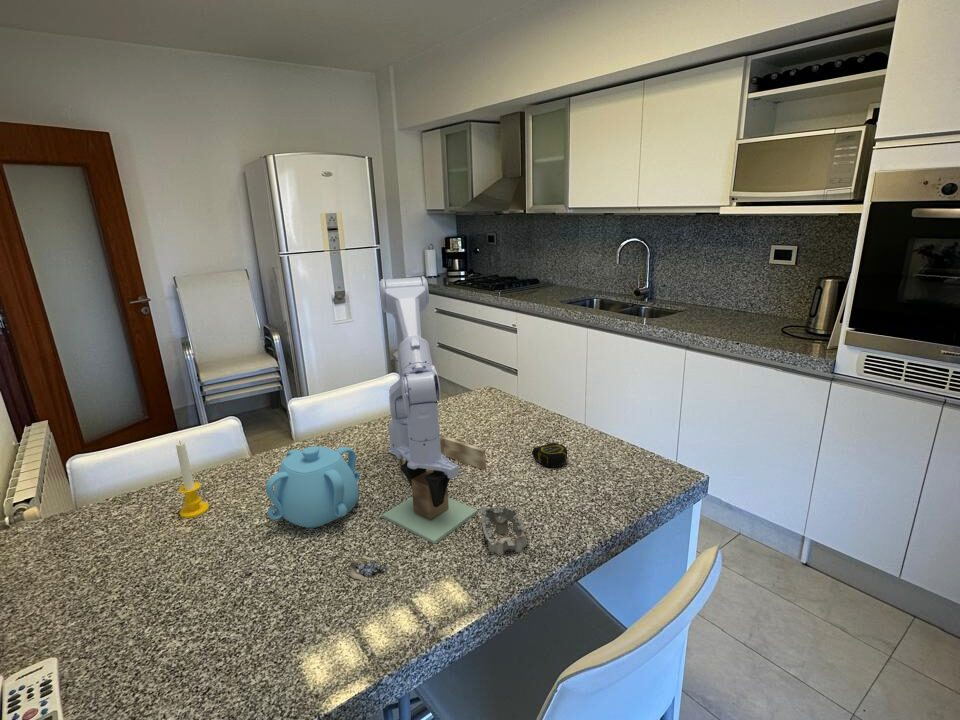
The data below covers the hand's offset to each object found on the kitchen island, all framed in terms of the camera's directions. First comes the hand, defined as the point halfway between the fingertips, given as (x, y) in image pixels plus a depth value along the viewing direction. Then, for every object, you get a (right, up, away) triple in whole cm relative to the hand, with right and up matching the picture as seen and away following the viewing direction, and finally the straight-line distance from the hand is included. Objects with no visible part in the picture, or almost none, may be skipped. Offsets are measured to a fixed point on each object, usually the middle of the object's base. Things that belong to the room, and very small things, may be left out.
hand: (429, 500), depth 97 cm
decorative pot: (-22, -3, +4) cm, 23 cm away
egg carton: (+14, -5, -6) cm, 16 cm away
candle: (-48, -4, +6) cm, 48 cm away
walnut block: (0, -2, +1) cm, 2 cm away
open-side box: (+2, +2, +17) cm, 17 cm away
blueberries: (-8, -8, -13) cm, 17 cm away
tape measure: (+26, +3, +20) cm, 33 cm away
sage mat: (0, -3, +1) cm, 3 cm away
